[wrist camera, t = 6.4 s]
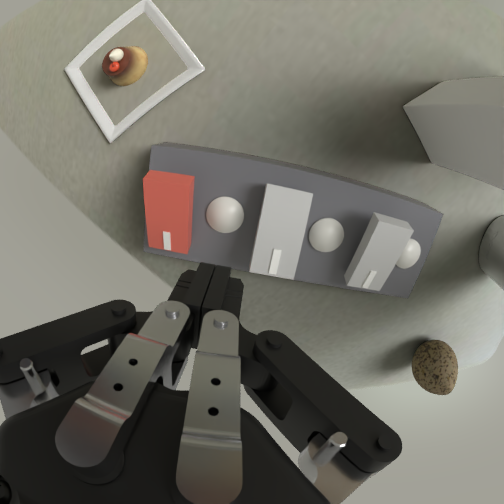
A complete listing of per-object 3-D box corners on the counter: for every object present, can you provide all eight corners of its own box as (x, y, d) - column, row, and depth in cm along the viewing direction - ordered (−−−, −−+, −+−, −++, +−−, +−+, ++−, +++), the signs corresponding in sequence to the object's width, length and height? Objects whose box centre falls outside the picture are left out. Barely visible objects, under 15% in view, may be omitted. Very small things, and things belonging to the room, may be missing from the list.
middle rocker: (309, 193, 22) (313, 193, 21) (290, 274, 24) (293, 280, 22) (266, 183, 22) (267, 183, 20) (249, 266, 24) (249, 272, 22)
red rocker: (194, 176, 20) (189, 187, 19) (191, 243, 25) (187, 255, 24) (149, 169, 20) (142, 179, 19) (153, 236, 25) (148, 247, 24)
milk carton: (430, 163, 25) (570, 226, 7) (401, 106, 22) (555, 113, 5) (467, 135, 23) (598, 175, 5) (441, 81, 20) (581, 80, 3)
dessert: (115, 142, 25) (91, 147, 21) (69, 69, 21) (43, 65, 17) (207, 71, 22) (197, 60, 18) (150, -1, 18) (134, -18, 14)
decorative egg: (408, 336, 35) (434, 386, 26) (445, 324, 34) (476, 367, 25) (401, 367, 38) (422, 414, 29) (437, 355, 37) (460, 397, 28)
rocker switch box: (424, 202, 26) (444, 214, 23) (394, 280, 31) (408, 299, 27) (166, 142, 25) (150, 145, 21) (156, 235, 29) (142, 252, 25)
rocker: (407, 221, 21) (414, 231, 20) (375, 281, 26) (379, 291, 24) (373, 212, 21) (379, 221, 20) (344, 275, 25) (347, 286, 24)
